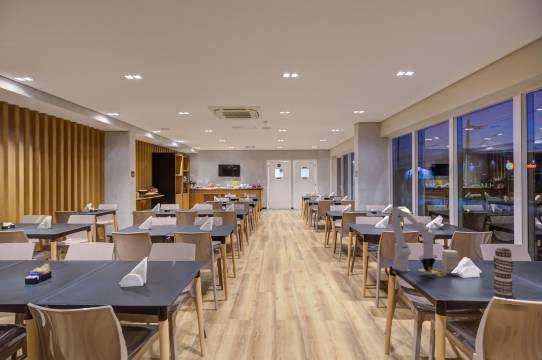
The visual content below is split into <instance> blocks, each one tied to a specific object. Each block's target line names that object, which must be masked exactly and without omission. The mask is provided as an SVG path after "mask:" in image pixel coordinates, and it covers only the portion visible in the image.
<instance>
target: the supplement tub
mask: <svg viewBox="0 0 542 360" xmlns="http://www.w3.org/2000/svg"><path fill="white" fill-rule="evenodd" d="M458 252H459V251H457V250H454V249H442V250H441V260H442V261H441V262H442V263H441V264H442V265H441V266H442V269H441V271H445V272H447V274H452V273H451V272H452V271H453V270H454V269H455V268H456V267H457V266H458V267H459V253H458Z"/></svg>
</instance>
